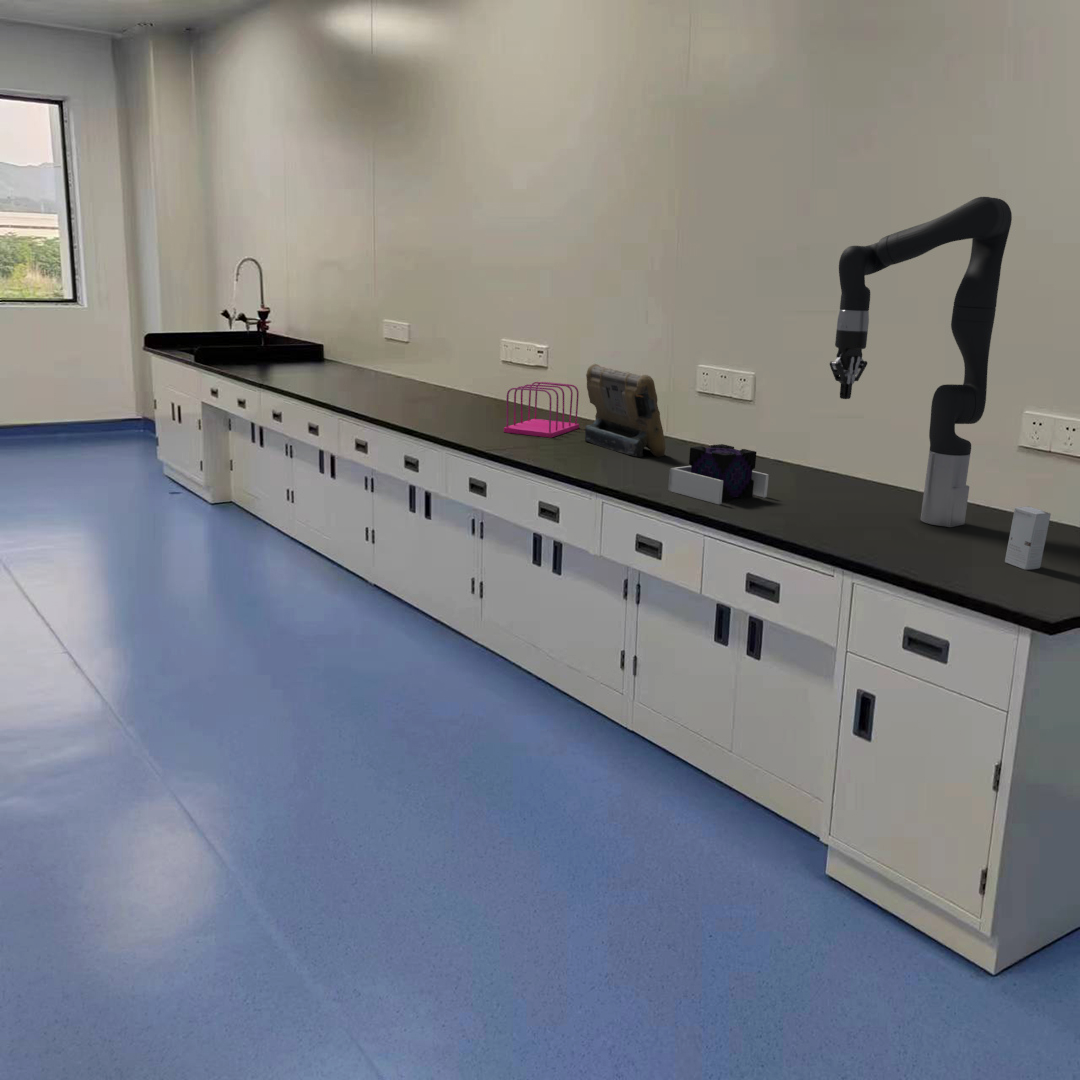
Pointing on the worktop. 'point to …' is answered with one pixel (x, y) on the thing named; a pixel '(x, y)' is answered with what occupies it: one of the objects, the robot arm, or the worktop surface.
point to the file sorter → (538, 425)
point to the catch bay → (708, 484)
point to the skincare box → (1027, 537)
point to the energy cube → (726, 468)
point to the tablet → (624, 412)
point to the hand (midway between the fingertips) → (845, 398)
